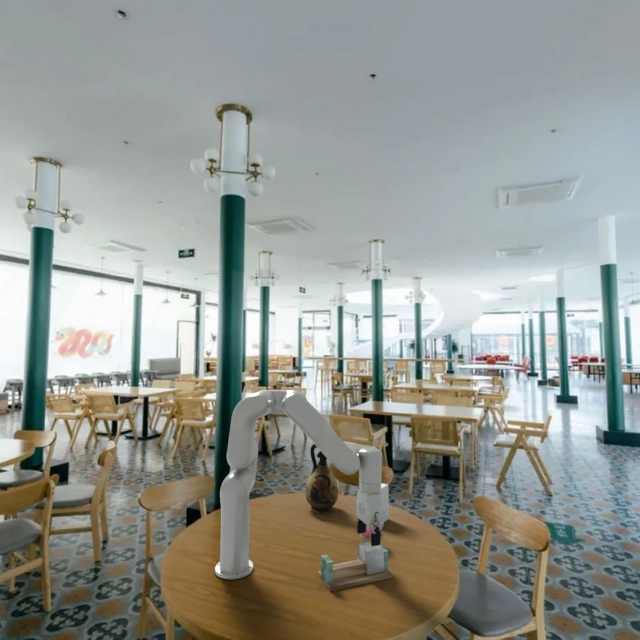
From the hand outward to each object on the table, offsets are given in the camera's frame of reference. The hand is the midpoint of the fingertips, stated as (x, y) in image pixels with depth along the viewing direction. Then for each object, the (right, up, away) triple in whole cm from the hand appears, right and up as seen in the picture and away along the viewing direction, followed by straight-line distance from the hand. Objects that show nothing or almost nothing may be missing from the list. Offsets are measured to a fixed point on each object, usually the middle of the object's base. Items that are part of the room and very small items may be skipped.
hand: (368, 538), depth 137 cm
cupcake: (+3, -13, +17) cm, 22 cm away
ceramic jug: (-16, -16, +55) cm, 59 cm away
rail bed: (-5, -11, -3) cm, 12 cm away
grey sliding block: (+1, -9, -1) cm, 9 cm away
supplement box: (+8, -15, +43) cm, 46 cm away
